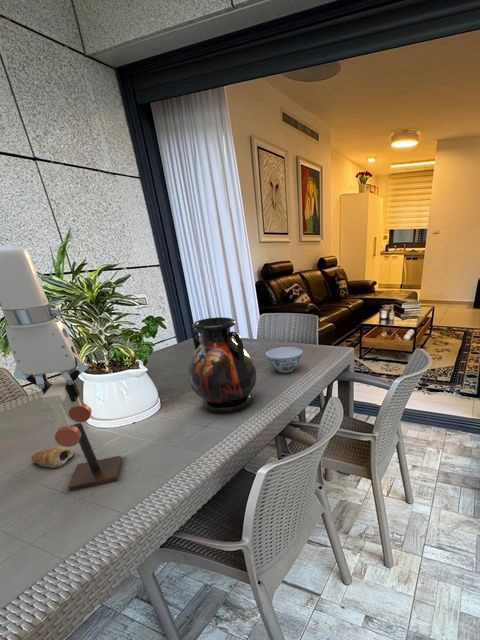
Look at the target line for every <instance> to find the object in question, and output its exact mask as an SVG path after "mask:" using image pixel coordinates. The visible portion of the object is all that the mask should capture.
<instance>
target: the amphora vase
mask: <svg viewBox="0 0 480 640" xmlns="http://www.w3.org/2000/svg"><path fill="white" fill-rule="evenodd" d="M235 325H236V320H235V319H234V318H232V317H224V316H223V317H222V316H221V317H219V316H218V317H209V318H203V319H199V320H196V321H194V322H193V323H192V328H193V329H194V330H193V333H192V341H193V345H194V349H195V350H194V352H193V353H192V356H191V358H190V362H189V365H188V366H189V367H188V381H189V383H190V387H191V389H192V390H193V392H194V393H195V394H196V395H197V396H198V397H199V398H200V399H202V400H203V402H202V405H203V407H204V409H206V410H207V411H208V412H210V413H211V412H212V413H215V414H227V413H228V414H229V413H233V412H234V413H235V412H238V411H240V410H243V409H246V408H247V407H248V406H249V405H250V404H251V403H252V401H253V395H252V394H251V393H252V391H253V390H254V388H255V386H256V383H257V378H258V377H257V369H256V365H255V363H254V360H253V358H252V357H251V355H250V354H249V352H248V351H247V350H246V349H245V348H244V343H243V338H242V337H241V335H240V333H238V332H236V331H231V328H233V327H234V326H235ZM200 336H201V340H200Z"/></svg>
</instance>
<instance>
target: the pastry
mask: <svg viewBox="0 0 480 640" xmlns="http://www.w3.org/2000/svg"><path fill="white" fill-rule="evenodd" d="M73 455H74V451H73V450H72V449H71V448H70V447H65V446H54V447H50V448H49V447H48V448H45V449H42V450H40V451H38V452H35V453H34V454H33V455H31V461H32V462H33V463H36V464H37V465H38V466H40V467H45V468H51V469H55V468H56V469H57V468H60V467H62V466H63V465H64V464H66V463H67V462H68V460H70V459H71V458H72V457H73Z"/></svg>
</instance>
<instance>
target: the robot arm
mask: <svg viewBox="0 0 480 640" xmlns="http://www.w3.org/2000/svg"><path fill="white" fill-rule="evenodd" d="M0 309H1V312H2V314H3V316H4V318H5V321H6V323H7V325H5V332H6V338H7V341H8V345H9V348H10V352H11V355H12V357H13V359H14V362H15V369H14V374H13V377H14V378H15V379H19V380H21V381H27V382H29V383H30V384H33V385H35V386H36V387H37V388H38V389H41V391H42V393H43V395H44V394H45V393H46V391H47V390H48V389H49V388H50V387H51V385H52V384H53V383H51V382H49V380H48V376H47V374H51V373H60V374H61V375H62V377H64V379H65V381H66V386H65V387H66V389H67V392H68V395H69V397H70V399H71V402H76V400H77V398H78V397H80V395H81V394H80V390H79V388H78V386H77V383H76V382H75V381H77V379H78V377H79V376H80V375H81V374H83V373H84V372H86V371H87V370H88V368H89V366H90V365H89V364H88V363H86V361H85V360H84V359H82V358H81V357H80V355H79V354H78V351H77V348H76V347H75V345H74V342H73V340H72V338H71V336H70V334H69V333H68V330H67V328H66V327H65V324H63V322H62V321H61V319H56V317H57V316H60V315H62V313H61V310H60V307H54V306H52V305H51V304H50V303H49V300H48V298H47V295H46V293H45V290H44V287H43V285H42V282H41V280H40V277H39V274H38V272H37V269H36V266H35V263H34V261H33V259H32V257H31V255H30V253H29V251H28V250H27V249H26V248H25V247H24V246H21V245H0ZM76 366H77V367H76Z"/></svg>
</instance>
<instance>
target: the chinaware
mask: <svg viewBox="0 0 480 640" xmlns="http://www.w3.org/2000/svg"><path fill="white" fill-rule="evenodd" d="M265 357H266V359H267V361H268V363H269V364H270V365H271V367H272V368H274V369H276V370H277V372H278V373H282V374H286V373H287V374H288V373H291V372H294V370H295V368H296V367H297V366H298V365H299V363H300V362H301V360H302V357H303V350H302V349H300V348H298V347H293V346H282V347H275V348H271V349H269V350H267V351H266V352H265Z"/></svg>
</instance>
